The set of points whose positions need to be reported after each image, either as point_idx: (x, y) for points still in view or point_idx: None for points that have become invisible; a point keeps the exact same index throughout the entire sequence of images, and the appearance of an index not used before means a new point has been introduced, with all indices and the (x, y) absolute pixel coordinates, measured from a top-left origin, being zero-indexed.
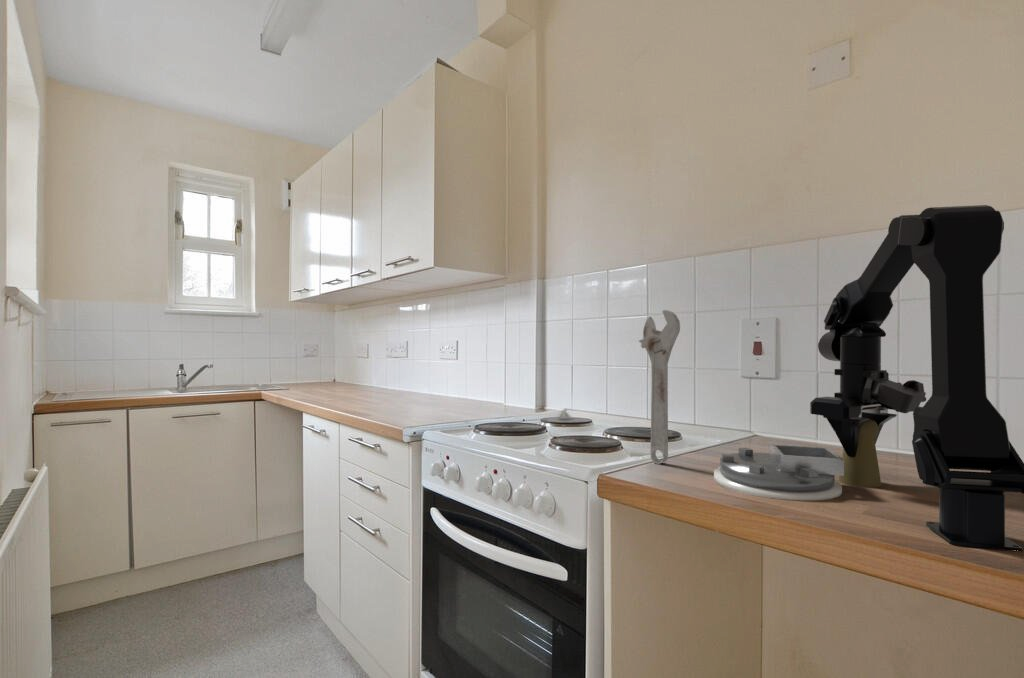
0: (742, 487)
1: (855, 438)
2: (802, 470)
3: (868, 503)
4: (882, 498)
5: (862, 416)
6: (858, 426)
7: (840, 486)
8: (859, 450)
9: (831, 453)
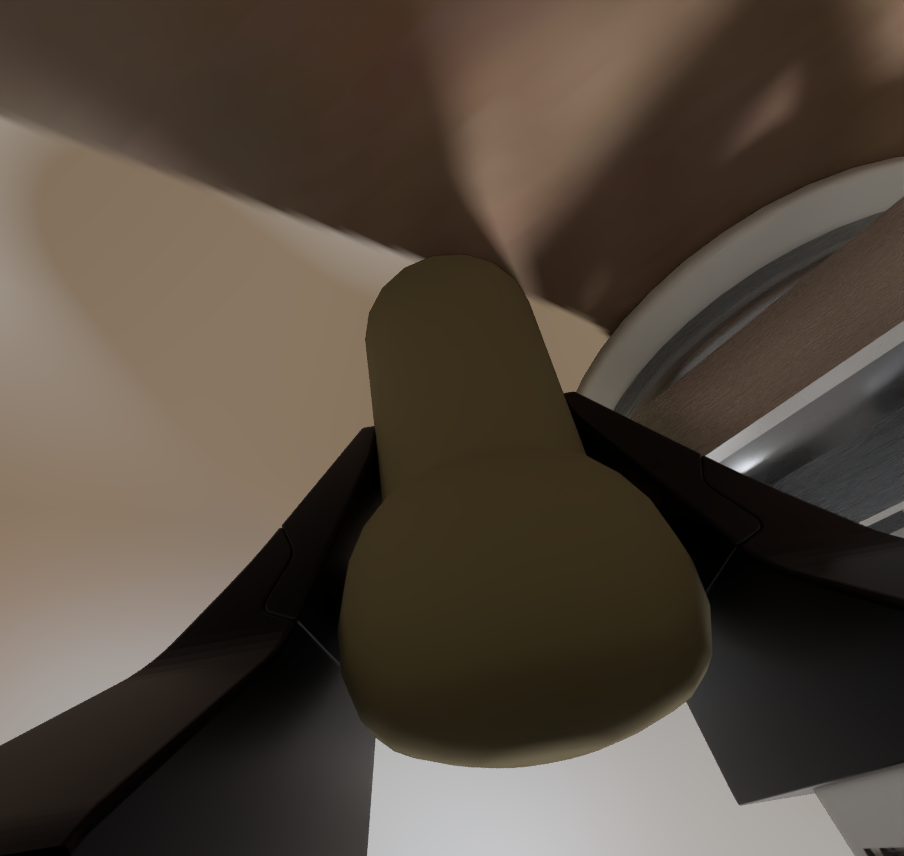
0: None
1: (701, 459)
2: None
3: (836, 14)
4: (650, 65)
5: (339, 790)
6: (849, 557)
7: (736, 251)
8: (565, 405)
9: (823, 393)
